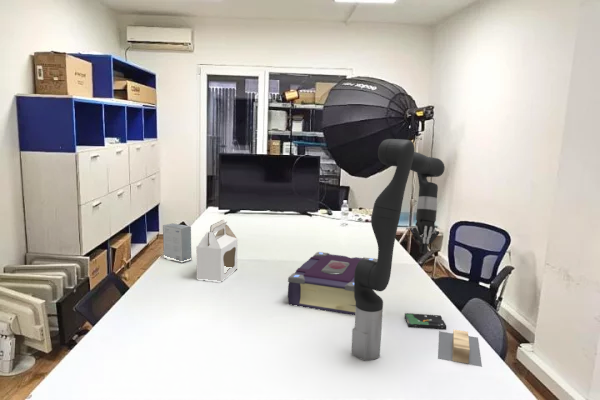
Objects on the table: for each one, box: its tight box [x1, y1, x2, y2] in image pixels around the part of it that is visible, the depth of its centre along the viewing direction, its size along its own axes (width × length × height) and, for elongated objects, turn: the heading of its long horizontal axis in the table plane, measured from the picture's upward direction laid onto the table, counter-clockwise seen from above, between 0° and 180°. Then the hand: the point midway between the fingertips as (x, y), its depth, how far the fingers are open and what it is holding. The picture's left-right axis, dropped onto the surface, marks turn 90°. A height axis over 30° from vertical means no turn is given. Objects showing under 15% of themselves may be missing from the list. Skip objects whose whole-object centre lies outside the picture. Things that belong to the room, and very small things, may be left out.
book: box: [287, 251, 378, 316], centre depth 209 cm, size 33×45×14 cm
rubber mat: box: [437, 330, 483, 368], centre depth 158 cm, size 22×14×1 cm, turn 161°
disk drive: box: [404, 312, 447, 331], centre depth 178 cm, size 10×3×15 cm
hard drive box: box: [162, 223, 192, 261], centre depth 252 cm, size 16×8×20 cm, turn 58°
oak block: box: [452, 329, 470, 364], centre depth 154 cm, size 5×5×14 cm
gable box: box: [195, 219, 238, 281], centre depth 227 cm, size 22×13×28 cm, turn 167°
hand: (422, 253), depth 171 cm, fingers closed
